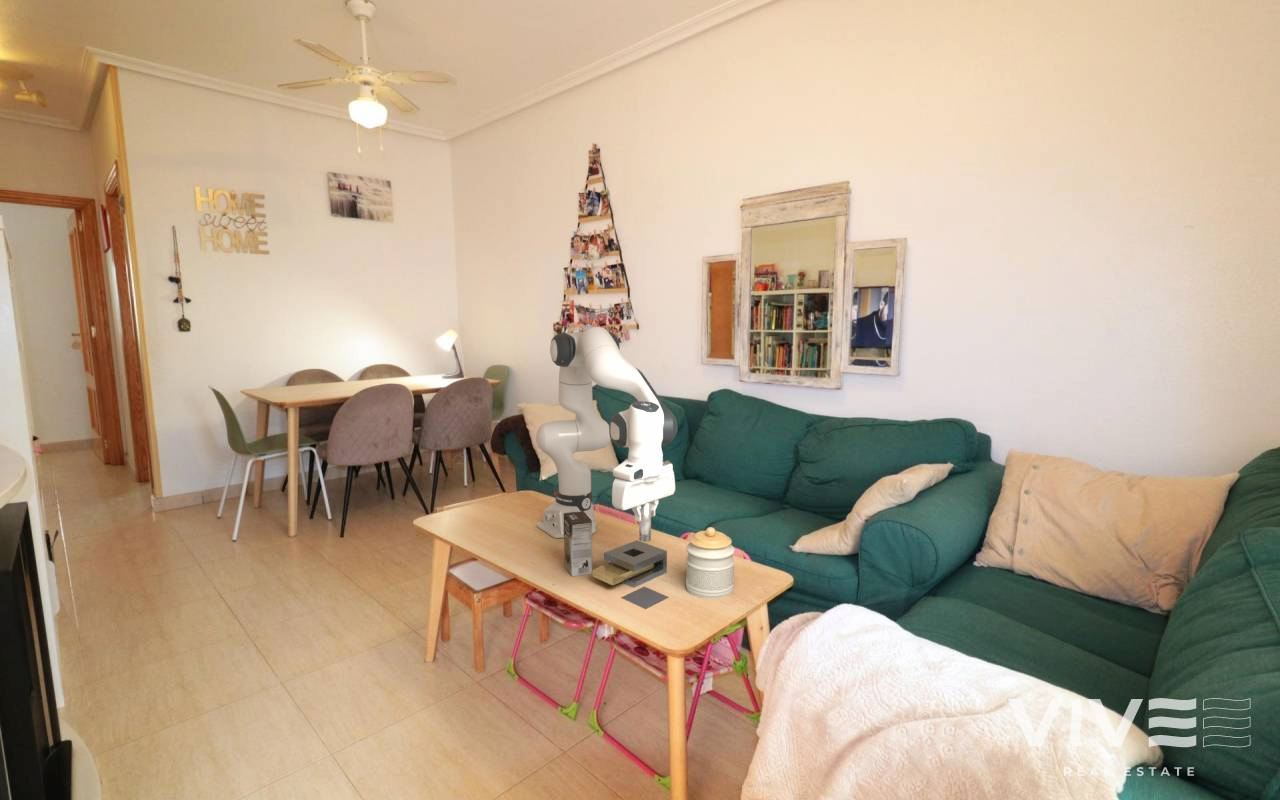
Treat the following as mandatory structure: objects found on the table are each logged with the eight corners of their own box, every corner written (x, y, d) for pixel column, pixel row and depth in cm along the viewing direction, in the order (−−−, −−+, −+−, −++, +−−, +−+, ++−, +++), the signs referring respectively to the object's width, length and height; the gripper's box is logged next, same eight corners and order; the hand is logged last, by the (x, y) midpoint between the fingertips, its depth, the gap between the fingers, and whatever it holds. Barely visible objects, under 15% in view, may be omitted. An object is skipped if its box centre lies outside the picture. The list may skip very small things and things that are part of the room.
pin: (636, 539, 152) (636, 502, 150) (644, 536, 154) (645, 499, 153) (645, 542, 150) (645, 504, 148) (653, 539, 152) (653, 502, 150)
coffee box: (563, 564, 176) (562, 512, 173) (584, 561, 178) (584, 510, 176) (571, 577, 167) (570, 522, 165) (593, 573, 169) (592, 519, 167)
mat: (620, 599, 154) (620, 597, 154) (644, 588, 160) (644, 586, 160) (645, 611, 148) (645, 609, 148) (669, 598, 154) (669, 597, 154)
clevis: (588, 582, 163) (587, 558, 162) (636, 562, 177) (636, 540, 176) (618, 596, 155) (617, 571, 154) (666, 574, 169) (666, 550, 168)
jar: (702, 575, 168) (703, 516, 166) (742, 588, 160) (744, 526, 158) (676, 591, 158) (676, 528, 156) (717, 606, 150) (718, 540, 148)
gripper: (663, 457, 159) (662, 506, 161) (607, 471, 144) (608, 525, 146) (681, 461, 154) (680, 511, 156) (625, 476, 140) (625, 531, 142)
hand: (645, 518), depth 151 cm, fingers closed on pin, 3 cm apart
